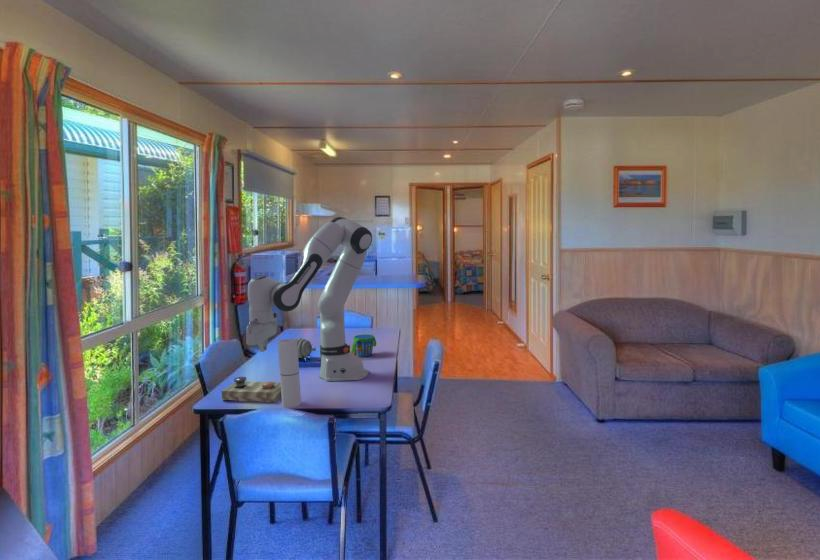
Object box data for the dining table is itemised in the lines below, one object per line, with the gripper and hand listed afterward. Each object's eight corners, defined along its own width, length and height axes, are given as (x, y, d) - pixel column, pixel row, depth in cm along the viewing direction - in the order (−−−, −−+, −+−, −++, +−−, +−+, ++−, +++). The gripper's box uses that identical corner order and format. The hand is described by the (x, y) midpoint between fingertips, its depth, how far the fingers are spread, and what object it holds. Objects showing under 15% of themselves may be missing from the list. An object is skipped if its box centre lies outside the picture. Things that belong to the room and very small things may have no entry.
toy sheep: (291, 356, 267) (290, 335, 266) (321, 357, 263) (319, 336, 261) (281, 362, 257) (280, 340, 256) (312, 363, 253) (310, 341, 251)
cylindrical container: (283, 408, 193) (279, 344, 189) (280, 402, 199) (276, 340, 196) (302, 405, 195) (298, 341, 192) (298, 399, 202) (295, 338, 199)
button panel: (286, 392, 211) (285, 382, 211) (273, 402, 200) (272, 392, 199) (237, 390, 215) (237, 381, 215) (222, 400, 204) (221, 391, 203)
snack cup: (369, 350, 273) (369, 332, 272) (382, 354, 265) (382, 335, 264) (346, 357, 262) (345, 337, 261) (359, 360, 254) (358, 340, 253)
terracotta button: (276, 391, 208) (275, 381, 208) (271, 395, 204) (270, 385, 203) (265, 391, 209) (264, 381, 209) (260, 395, 204) (259, 385, 204)
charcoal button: (249, 386, 210) (248, 376, 210) (243, 390, 206) (242, 380, 205) (238, 386, 211) (237, 376, 211) (232, 390, 206) (231, 380, 206)
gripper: (256, 322, 192) (258, 358, 193) (279, 312, 212) (281, 344, 213) (240, 322, 193) (243, 357, 194) (264, 312, 213) (267, 344, 214)
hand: (263, 350), depth 204 cm, fingers closed
